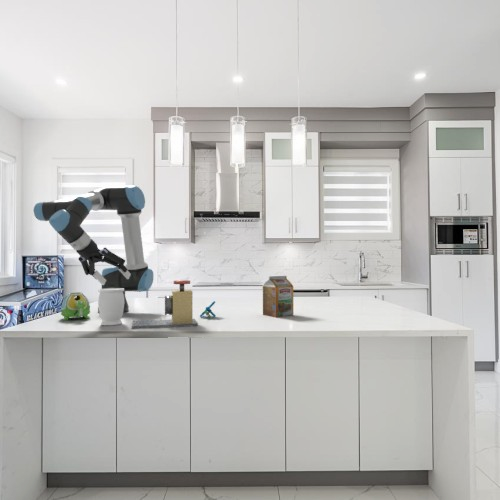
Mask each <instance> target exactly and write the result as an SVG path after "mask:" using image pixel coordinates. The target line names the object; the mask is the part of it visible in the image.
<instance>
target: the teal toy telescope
mask: <svg viewBox="0 0 500 500" xmlns="http://www.w3.org/2000/svg"><path fill="white" fill-rule="evenodd" d="M215 303H216V301H214V300H213V302H211V304H210V305H208V306H206V307H205V310H204V311H202V313H201V314H200V315H199V317H200V318H202V317H204V315H206V316H208V317H209V318H210V319H212V318H213V317H214V318H215V317H216V314H215V313H214V312H213V311H212V309H211V307H213V306H214V305H215ZM210 314H211V315H210Z"/></svg>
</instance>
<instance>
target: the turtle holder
mask: <svg viewBox="0 0 500 500" xmlns="http://www.w3.org/2000/svg"><path fill="white" fill-rule="evenodd" d="M60 310H61V312H60V315H61V316H62V317H63V318H62V321H64V322H65V321H66V322H67V321H69V318H82V317H83V318H84V319H85V320H88V319H89V320H90V319H91V317H90V316H89V315H90V313H91V306H90V301H89V299H88V297H87V296H86V295H85V294H84V293H83V292H80V291H79V292H77V291H76V292H68V294H66V296H65V297H64V298H63V301H62V303H61V308H60Z"/></svg>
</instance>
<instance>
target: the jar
mask: <svg viewBox="0 0 500 500" xmlns="http://www.w3.org/2000/svg"><path fill="white" fill-rule="evenodd" d="M123 291H124V288H103V289H102V288H98V292H99V295H98V301H97V302H98V303H97V304H98V306H99V312H98V313H99V317H100V319H101V322H100V325H101V326H106V327H107V326H119V325H121V324H122V323H123V321H122V318H123V315H124V312H123V310H124V294H123Z"/></svg>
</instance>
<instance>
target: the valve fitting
mask: <svg viewBox="0 0 500 500" xmlns="http://www.w3.org/2000/svg"><path fill="white" fill-rule="evenodd" d="M190 284H191V280H187V279H186V280H185V279H184V280H181V279H180V280H173V285H179V289H172V290H171V295H165V296H164V316H171V318H170V319H152V320H151V319H149V320H133V321H132V324H131V329H133V330H136V329H153V328H155V329H156V328H179V327H197V326H199V323H198V321H197V319H195V318H193V290H192V289H185V285H190Z"/></svg>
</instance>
